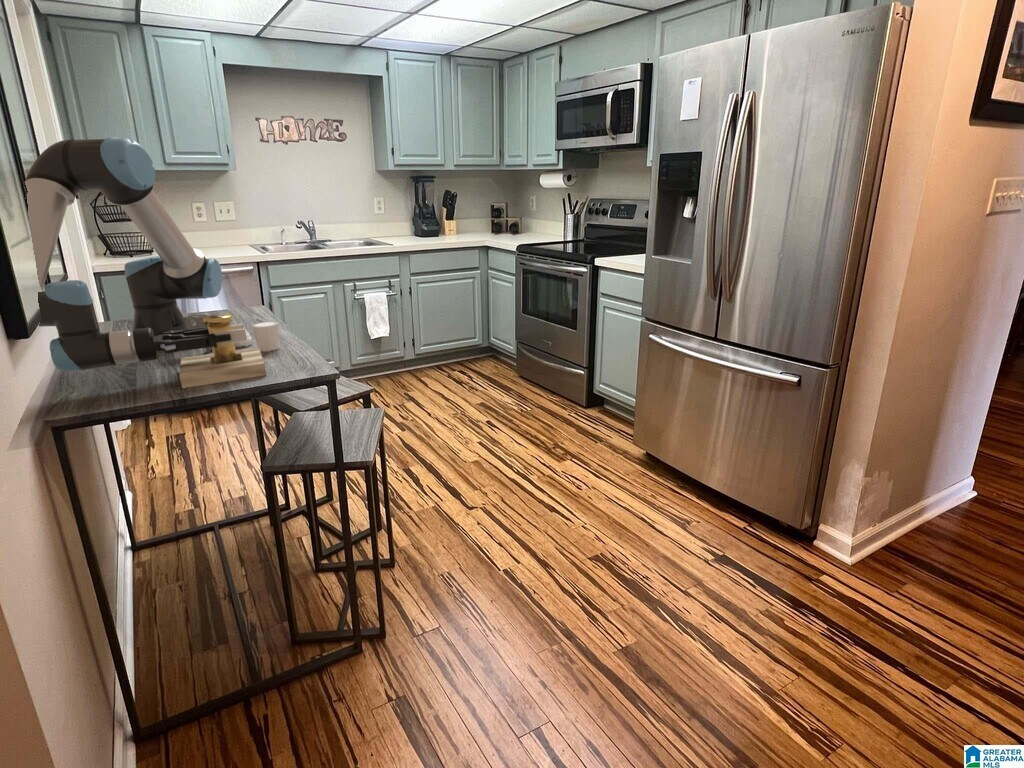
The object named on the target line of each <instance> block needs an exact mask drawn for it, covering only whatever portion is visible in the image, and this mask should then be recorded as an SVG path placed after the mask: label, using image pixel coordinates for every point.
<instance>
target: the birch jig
mask: <svg viewBox="0 0 1024 768" xmlns="http://www.w3.org/2000/svg"><path fill="white" fill-rule="evenodd" d="M261 352H262V351H260V349H259V347H258V346H257V347H251V348H243V349H236V354H237V359H238V361H234V362H227V363H220V364H216V363H215V358H214V354H213V353H208V354H201V355H193V356H187V357H181V359H180V367H179V375H178V376H179V380H180V381H179V382H180V385H181V388H182V389H186V388H187V387H188V388H194V387H199V386H205V385H213V384H217V383H226V382H230V381H236V380H237V381H238V380H245V379H249V378H254V377H255V378H256V377H262V376H267V370H266V364H265V361H264V357H263V354H262V353H261ZM188 388H187V389H188Z"/></svg>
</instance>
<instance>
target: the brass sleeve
mask: <svg viewBox="0 0 1024 768" xmlns="http://www.w3.org/2000/svg"><path fill="white" fill-rule="evenodd" d="M233 320H234V318H233V315H232V314H231V313H216V314H210V315H209V314H208V316H206V317H203V323H204V324H206V325H207V326H208V330H209V334H215V332H221V331H229V330H232V329H231V322H233ZM212 350H213V351H212V354H214V358H215V363H216V364H220V363H227V362H234V361H238V359H237V354H236V350H237V349H236V347H235V344H234V342H228V343H221V344H217V348H214V347H212Z"/></svg>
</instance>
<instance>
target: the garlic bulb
mask: <svg viewBox="0 0 1024 768" xmlns="http://www.w3.org/2000/svg"><path fill="white" fill-rule="evenodd" d="M245 332H246V338H247V340H243V341H236V342H234V344H235V348H243V347H242V346H246V347H248V346H247V345H249V346H251V345H252V341H253V339H252V336H251V335H250V333H249V332H248V330H246V329H245ZM250 344H251V345H250Z"/></svg>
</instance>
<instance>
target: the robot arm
mask: <svg viewBox="0 0 1024 768" xmlns="http://www.w3.org/2000/svg"><path fill="white" fill-rule="evenodd" d="M153 164H154V163H153V160H152V158H151V157H150V155H149V153H148V151H147V150H146V149H145V148H144V147H143V146H142V145H141V144H139V143H138V142H137V141H135V140H133V139H129V138H119V137H107V138H91V139H90V138H89V139H88V138H87V139H82V138H81V139H64V140H60V141H57V142H55V143H53V144H51V145H50V146H48V147H47V148H46V149H44V150H43V151H42V152H41V153H40V154H39V156H37V158H36V159H35V160H34V162H33V164H32V165H31V167H30V168H29V170H28V173H27V174H26V177H25V181H24V183H25V185H26V188H27V191H28V192H27V191H26V193H27V194H26V196H27V204H28V217H29V225H30V230H31V237H32V243H33V250H34V255H35V261H36V268H37V275H38V280H39V284H40V287H41V289H42V292H38V303H39V307H40V313H41V317H42V318H41V321H40V324H39V327H56V331H57V335H58V337H57V338H53V339H52V340H50V342H49V351H50V358H51V361H52V362H53V365H54V366H55V368H56V369H58V370H59V371H60V372H72V371H74V372H75V371H86V370H90V369H96V368H104V367H111V366H118V365H122V366H123V367H128V364H133V363H134V364H135V363H137V362H138V360H139V361H140V362H142V363H143V362H149V361H155V360H158V358H159V352H161V351H163V352H165V353H166V354H172V353H177V352H183V351H185V352H186V351H191V350H199V349H206V348H207V347H214V348H217V344H221V343H228V342H236V341H243V340H247V338H246V332H245V330H246V328H245V326H244V323H239V324H233V325H231V329H232V330H229V331H221V332H215V334H209V330H208V326H207V327H199V328H191V329H188V327H187V323H186V322H185V321H184V318H185V316H184V314H183V313H182V310H180V308H179V306H178V302H177V300H190V299H192V300H193V299H195V300H197V299H198V300H199V299H202V300H203V299H205V300H206V299H212V298H215V297H218V295H219V294H220V293H221V291H222V287H223V272H222V267H221V265H220V262H219V261H218V260H217V259H215V258H211V257H210V258H206V256H205V255H204V254H203V252H202V251H201V250H200V249H199V248H196V247H193V246H191V244H190V242H189V241H188V240H187V238H186V237H185V235H184V234H183V233H182V231H181V230H180V228H179V227H178V224H177V223H176V222H175V221H174V219H173V218H172V216H171V215H170V214H169V212H168V211H167V208H166V207H165V206H164V205H163V203H162V202H161V200H160V198H159V197H158V196H157V194H156V192H154V188H155V181H156V169H155V167H154V166H153ZM88 191H89V192H93V191H95V192H96V191H98V192H101V193H102V194H103V195H104V197H105V198H106V200H108V201H109V202H110V203H111V204H113V205H115V206H119V207H121V208H122V209H123V211H124V212H125V214H127V216H128V217H129V219H130V220H131V221H132V222H133V224H134V225H135V227H136V228H137V229H138V231H140V233H141V234H142V236H143V237H144V239H146V241H147V242H148V243H149V245H150V246H151V247H152V249H153V250H154V251H155V253H156V254H157V256H156V255H155V256H150V257H145V258H139V259H135V260H131V261H128V262H126V263H125V264H124V275H125V280H126V283H127V287H128V292H129V295H130V298H131V303H132V306H133V307H132V308H133V310H134V313H133V314H134V315H133V321H132V322H133V323H132V330H130V329H123V330H115V331H109V332H101V331H100V330H101V328H100V327H99V326H100V324H99V321H98V318H97V314H96V310H95V307H94V302H93V301H94V300H93V297H92V296H91V293H90V291H89V288H88V285H87V283H86V282H85V281H83V280H79V279H77V280H75V279H74V280H62V281H54V282H49V283H46V280H47V276H48V274H49V271H50V266H51V263H52V260H53V256H54V254H55V250H56V246H57V242H58V239H59V235H60V232H61V228H62V225H63V222H64V218H65V214H66V211H67V208H68V206H71V205H72V204H74V203H75V199H76V196H77V195H78V194H79V193H81V192H88ZM44 289H45V291H43V290H44Z"/></svg>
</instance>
